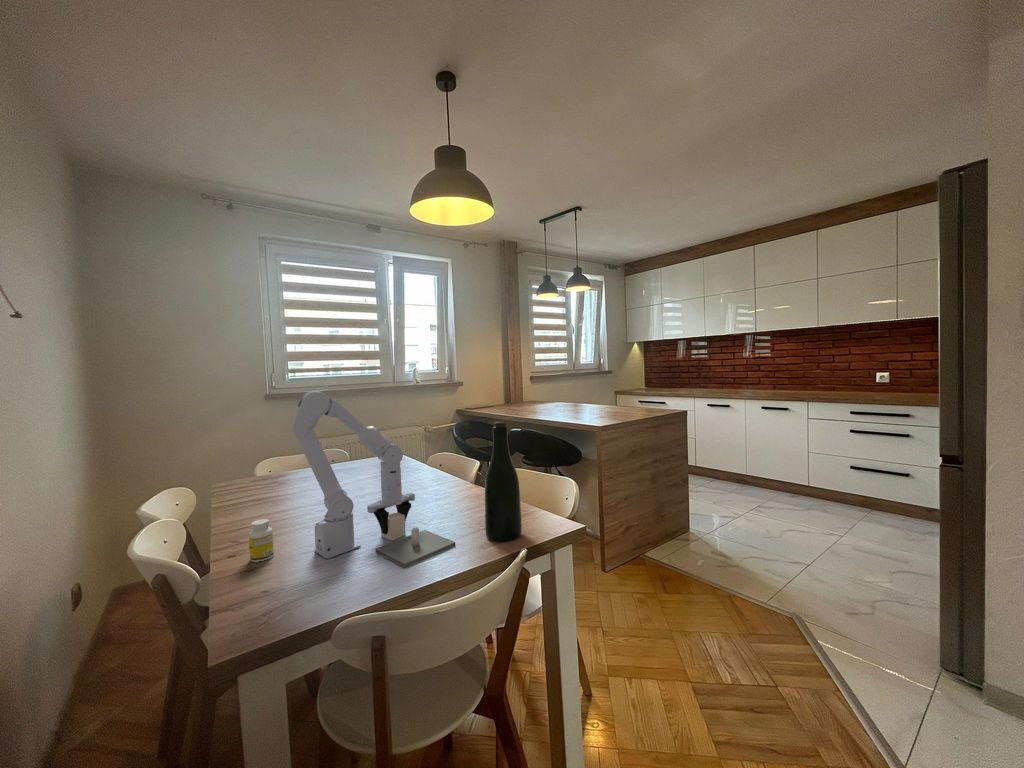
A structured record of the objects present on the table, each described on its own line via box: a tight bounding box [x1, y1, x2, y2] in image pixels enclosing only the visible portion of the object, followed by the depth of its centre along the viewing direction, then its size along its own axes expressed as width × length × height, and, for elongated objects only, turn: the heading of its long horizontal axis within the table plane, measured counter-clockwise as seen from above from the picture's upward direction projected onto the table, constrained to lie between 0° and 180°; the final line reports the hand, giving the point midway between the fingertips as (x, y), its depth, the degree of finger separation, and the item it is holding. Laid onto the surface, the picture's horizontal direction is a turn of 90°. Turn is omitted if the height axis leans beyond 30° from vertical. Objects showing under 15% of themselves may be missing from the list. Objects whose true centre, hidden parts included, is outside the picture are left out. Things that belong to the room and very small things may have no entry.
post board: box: [374, 526, 456, 569], centre depth 109 cm, size 16×14×6 cm
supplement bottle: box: [248, 518, 275, 563], centre depth 106 cm, size 5×5×10 cm
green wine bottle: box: [484, 421, 523, 543], centre depth 115 cm, size 10×10×33 cm
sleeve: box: [380, 510, 406, 541], centre depth 118 cm, size 5×5×6 cm
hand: (393, 530), depth 118 cm, fingers closed on sleeve, 5 cm apart
